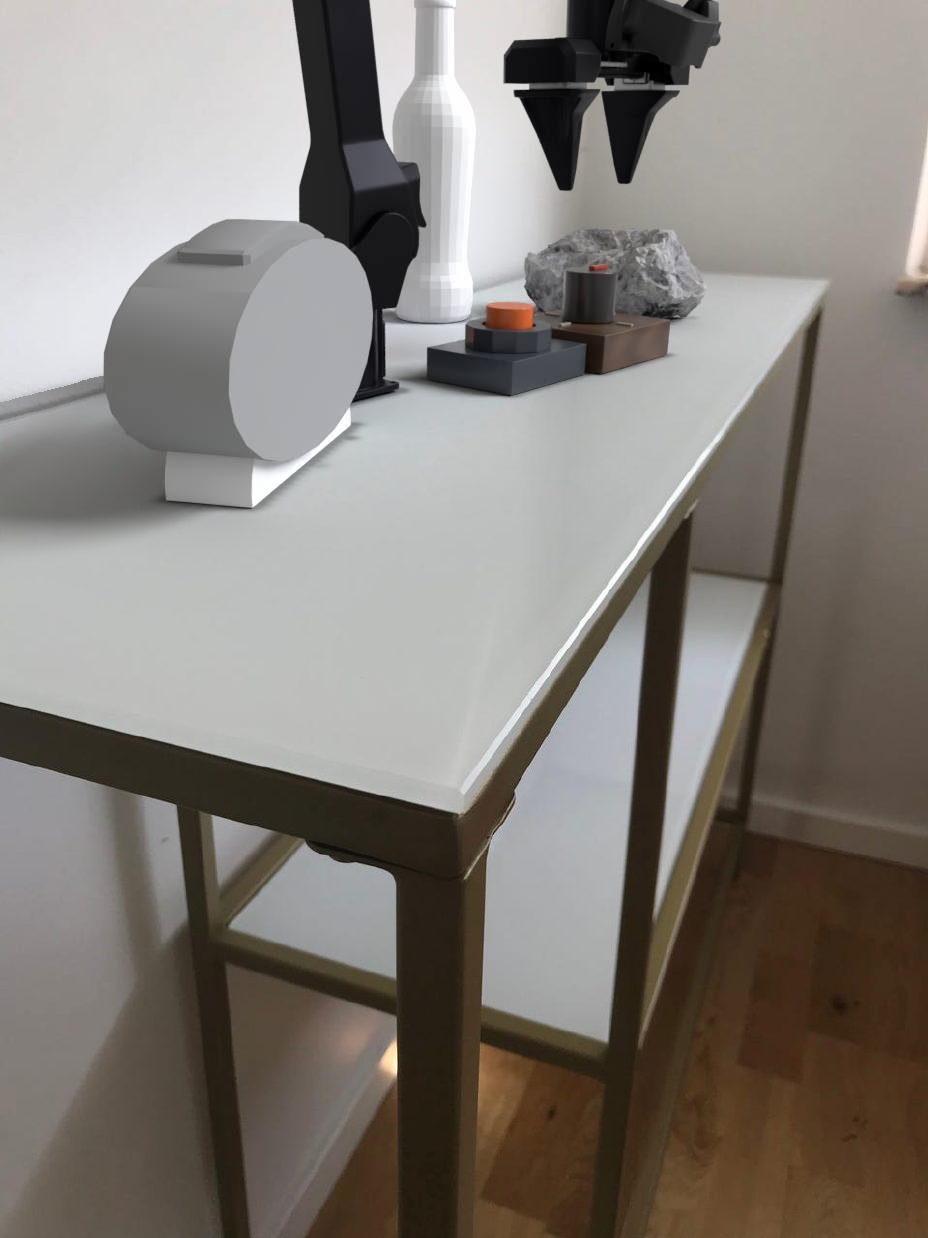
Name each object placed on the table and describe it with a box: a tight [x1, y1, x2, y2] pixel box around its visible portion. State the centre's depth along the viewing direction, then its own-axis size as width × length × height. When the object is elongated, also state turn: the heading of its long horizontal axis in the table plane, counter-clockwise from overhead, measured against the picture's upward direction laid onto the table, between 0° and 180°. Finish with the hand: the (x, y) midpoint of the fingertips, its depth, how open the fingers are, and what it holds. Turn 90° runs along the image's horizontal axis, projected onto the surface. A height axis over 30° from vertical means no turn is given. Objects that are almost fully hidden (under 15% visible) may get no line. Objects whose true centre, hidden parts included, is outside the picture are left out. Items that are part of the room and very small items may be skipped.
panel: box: [533, 309, 671, 375], centre depth 88 cm, size 11×10×3 cm
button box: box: [426, 317, 586, 396], centre depth 79 cm, size 10×8×4 cm
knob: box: [562, 264, 618, 324], centre depth 86 cm, size 4×4×4 cm
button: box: [485, 301, 534, 329], centre depth 78 cm, size 4×4×2 cm
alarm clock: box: [102, 218, 373, 509], centre depth 56 cm, size 23×6×13 cm, turn 169°
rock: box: [523, 227, 708, 319], centre depth 106 cm, size 18×15×10 cm
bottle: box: [391, 0, 477, 324], centre depth 98 cm, size 8×8×30 cm
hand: (596, 186), depth 83 cm, fingers open, 9 cm apart
